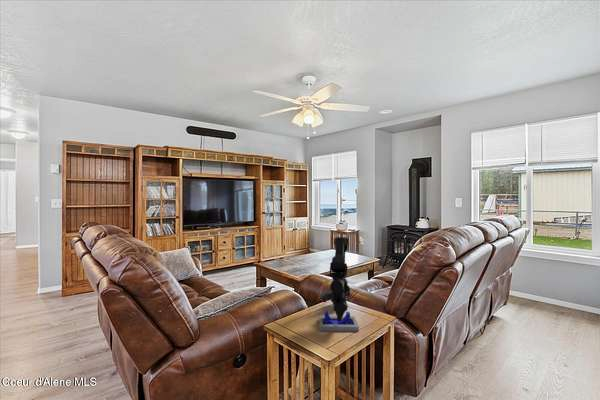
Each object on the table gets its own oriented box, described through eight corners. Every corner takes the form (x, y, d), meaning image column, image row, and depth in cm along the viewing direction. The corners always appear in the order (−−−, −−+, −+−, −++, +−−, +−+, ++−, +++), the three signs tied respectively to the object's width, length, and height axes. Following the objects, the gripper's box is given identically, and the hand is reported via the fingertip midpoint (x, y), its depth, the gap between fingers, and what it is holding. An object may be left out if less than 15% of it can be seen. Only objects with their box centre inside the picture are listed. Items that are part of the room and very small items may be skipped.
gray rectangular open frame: (318, 319, 148) (318, 316, 148) (354, 320, 148) (354, 316, 148) (320, 330, 136) (320, 326, 136) (358, 331, 136) (358, 327, 136)
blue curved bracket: (325, 327, 141) (325, 314, 140) (324, 323, 145) (325, 311, 145) (350, 327, 140) (350, 315, 140) (349, 323, 144) (349, 311, 144)
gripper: (320, 280, 151) (320, 310, 152) (322, 292, 133) (322, 326, 133) (342, 280, 151) (341, 310, 152) (347, 292, 133) (347, 327, 133)
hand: (338, 318), depth 142 cm, fingers open, 7 cm apart
